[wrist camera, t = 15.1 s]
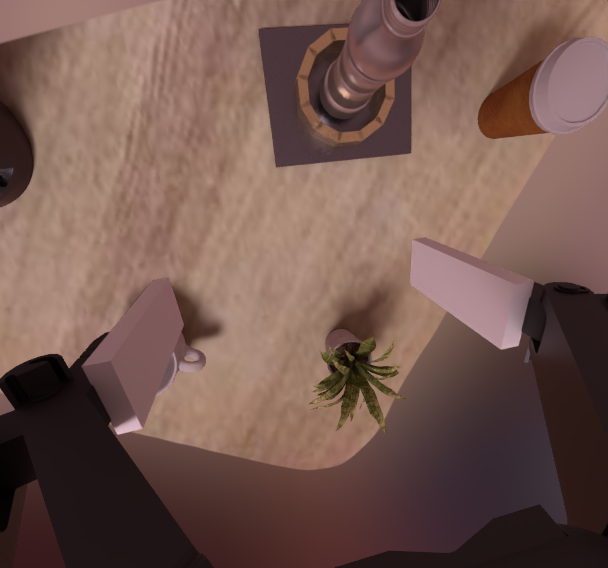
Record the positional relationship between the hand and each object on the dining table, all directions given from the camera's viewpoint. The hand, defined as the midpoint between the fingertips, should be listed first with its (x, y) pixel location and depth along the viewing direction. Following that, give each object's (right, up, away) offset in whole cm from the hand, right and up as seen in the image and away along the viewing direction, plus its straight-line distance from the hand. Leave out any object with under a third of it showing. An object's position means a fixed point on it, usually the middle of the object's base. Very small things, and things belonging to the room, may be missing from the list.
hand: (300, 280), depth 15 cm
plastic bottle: (+5, +25, +23) cm, 35 cm away
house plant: (+6, -9, +34) cm, 36 cm away
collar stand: (+5, +26, +24) cm, 35 cm away
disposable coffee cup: (+29, +25, +27) cm, 47 cm away
